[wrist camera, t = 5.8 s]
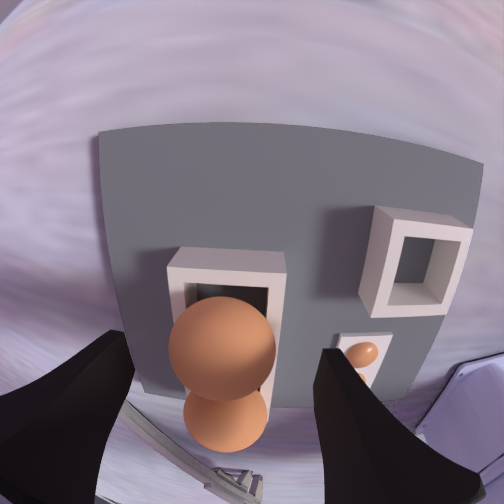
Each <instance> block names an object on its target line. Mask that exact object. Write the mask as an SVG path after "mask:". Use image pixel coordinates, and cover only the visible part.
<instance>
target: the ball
mask: <svg viewBox="0 0 504 504" xmlns="http://www.w3.org/2000/svg"><path fill="white" fill-rule="evenodd" d="M168 351H169V359H170V362H171V366H172V368H173V370H174V372H175V374H176V376H177V377H178V379H179V380H180V381H181V382H182V384H183V385H184V386H185V387H186V388H188V389H189V390H190V391H192V392H193V393H195V394H196V395H198V396H200V397H203V398H206V399H209V400H214V401H232V400H237V399H240V398H243V397H246V396H248V395H249V394H251V393H253V392H254V391H256V390H257V389H258V388H259V387H260V386H261V385H262V384H263V383H264V382H265V381H266V379H267V378H268V376H269V375H270V373H271V371H272V368H273V365H274V362H275V357H276V344H275V337H274V334H273V331H272V329H271V327H270V325H269V323H268V322H267V320H266V319H265V317H264V316H263V315H262V314H261V313H260V312H259V311H258V310H257V309H256V308H254V307H253V306H252V305H250V304H248V303H246V302H244V301H242V300H239V299H236V298H232V297H221V296H219V297H211V298H207V299H204V300H201V301H198V302H196V303H194V304H193V305H191V306H190V307H188V308H187V309H186V310H185V311H184V312H183V313H182V314H181V315H180V316H179V317H178V319H177V320H176V322H175V324H174V326H173V328H172V330H171V333H170V337H169V345H168Z"/></svg>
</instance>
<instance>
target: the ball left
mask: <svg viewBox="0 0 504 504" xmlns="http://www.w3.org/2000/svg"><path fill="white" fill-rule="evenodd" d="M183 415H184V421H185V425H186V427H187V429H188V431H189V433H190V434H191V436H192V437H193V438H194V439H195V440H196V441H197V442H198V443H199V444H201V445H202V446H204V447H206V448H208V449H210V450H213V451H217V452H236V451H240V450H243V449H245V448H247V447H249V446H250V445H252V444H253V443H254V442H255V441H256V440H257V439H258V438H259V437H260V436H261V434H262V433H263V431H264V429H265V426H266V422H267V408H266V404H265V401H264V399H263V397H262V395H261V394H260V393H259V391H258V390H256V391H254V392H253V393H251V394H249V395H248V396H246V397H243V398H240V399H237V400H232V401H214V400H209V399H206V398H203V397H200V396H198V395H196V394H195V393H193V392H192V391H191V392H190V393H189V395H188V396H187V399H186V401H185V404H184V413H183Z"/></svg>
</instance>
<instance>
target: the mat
mask: <svg viewBox="0 0 504 504" xmlns="http://www.w3.org/2000/svg"><path fill="white" fill-rule="evenodd" d="M483 166H484V164H483V163H480V162H477V161H474V160H471V159H468V158H464V157H461V156H458V155H455V154H451V153H448V152H444V151H441V150H437V149H433V148H429V147H425V146H421V145H417V144H413V143H409V142H404V141H400V140H395V139H390V138H385V137H380V136H374V135H369V134H363V133H356V132H350V131H343V130H335V129H327V128H319V127H309V126H298V125H285V124H269V123H238V122H212V123H182V124H165V125H153V126H142V127H133V128H124V129H116V130H109V131H102V132H99V168H100V184H101V197H102V207H103V216H104V224H105V232H106V239H107V246H108V252H109V258H110V264H111V269H112V275H113V280H114V285H115V290H116V294H117V299H118V303H119V307H120V312H121V316H122V320H123V324H124V327H125V331H126V335H127V338H128V342H129V345H130V349H131V352H132V356H133V359H134V362H135V365H136V368H137V371H138V374H139V377H140V380H141V383H142V386H143V389H144V392H145V393H149V394H154V395H160V396H165V397H171V398H177V399H183V400H186V399H187V396H186V391H185V386H184V385H183V384H182V382H181V381H180V380H179V379H178V377H177V376H176V374H175V372H174V370H173V368H172V366H171V362H170V359H169V351H168V345H169V337H170V333H171V330H172V328H173V326H174V322H173V315H172V308H171V301H170V293H169V284H168V275H167V265H168V264H169V263H170V261H171V260H172V258H173V257H174V256H175V254H176V253H177V251H178V250H179V249H180V247H200V248H220V249H239V250H259V251H279V252H284V257H285V264H286V272H287V276H286V286H285V295H284V305H283V313H282V322H281V330H280V339H279V347H278V354H277V362H276V370H275V377H274V384H273V391H272V398H271V405H270V407H282V408H301V407H314V400H313V383H314V379H315V376H316V372H317V369H318V365H319V361H320V357H321V353H322V349H323V348H336V346H337V343H338V339H339V335H340V333H370V332H392V334H393V337H392V339H391V342H390V344H389V347H388V349H387V352H386V354H385V356H384V359H383V361H382V363H381V366H380V368H379V370H378V372H377V375H376V377H375V379H374V381H373V383H372V385H371V387H370V390H371V391H372V392H373V393H374V395H375V396H376V397H377V398H378V399H379V400H380V402H384V401H391V400H398V399H403V398H404V396H405V394H406V393H407V391H408V389H409V388H410V386H411V384H412V382H413V381H414V379H415V377H416V375H417V374H418V372H419V370H420V368H421V366H422V364H423V362H424V360H425V358H426V356H427V354H428V352H429V350H430V348H431V346H432V344H433V342H434V340H435V338H436V335H437V333H438V331H439V329H440V326H441V324H442V322H443V319H444V317H445V315H433V316H415V317H387V318H370V316H369V314H368V312H367V310H366V308H365V306H364V304H363V302H362V300H361V298H360V296H359V294H358V291H359V286H360V282H361V278H362V273H363V268H364V264H365V259H366V254H367V249H368V243H369V238H370V232H371V226H372V220H373V214H374V207H375V205H376V206H384V207H393V208H401V209H409V210H416V211H423V212H430V213H437V214H444V215H450V216H452V217H453V218H455V219H457V220H459V221H460V222H462V223H464V224H466V225H467V226H469V227H471V228H472V229H473V226H474V221H475V216H476V211H477V206H478V201H479V195H480V189H481V182H482V175H483ZM434 242H435V239H430V238H419V237H408V236H405V237H404V242H403V246H402V251H401V255H400V259H399V263H398V267H397V271H396V275H395V279H394V283H423V282H424V279H425V275H426V272H427V268H428V265H429V261H430V258H431V254H432V250H433V246H434ZM196 286H197V301H201V300H204V299H207V298H211V297H219V296H221V297H232V298H236V299H239V300H242V301H244V302H246V303H248V304H250V305H252V306H253V307H254V308H256V309H257V310H258V311H259V312H260V313H261V314H262V315H263V316H264V317H265V308H266V294H267V287H251V286H234V285H218V284H203V283H196ZM257 390H259V388H258V389H257Z"/></svg>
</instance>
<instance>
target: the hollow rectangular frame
mask: <svg viewBox="0 0 504 504" xmlns="http://www.w3.org/2000/svg"><path fill="white" fill-rule="evenodd" d="M167 275H168V284H169V293H170V301H171V308H172V315H173V322H174V324H175V322H176V320H177V319H178V317H179V316H180V315H181V314H182V313H183V312H184V311H185V310H186V309H187V308H188V307H190V306H191V305H193V304H194V303H196V302H198V301H197V286H196V283H203V284H218V285H234V286H251V287H267V294H266V308H265V319H266V320H267V322H268V323H269V325H270V327H271V329H272V331H273V334H274V337H275V344H276V357H275V362H274V365H273V368H272V371H271V373H270V375H269V376H268V378H267V379H266V381H265V382H264V383H263V384H262V385H261V386H260V387H259V390H258V391H259V393H260V394H261V395H262V397H263V399H264V401H265V404H266V408H267V422H268V418H269V411H270V405H271V398H272V391H273V384H274V377H275V370H276V362H277V354H278V347H279V339H280V330H281V322H282V313H283V305H284V295H285V286H286V276H287V272H286V264H285V257H284V252H279V251H259V250H239V249H220V248H200V247H180V249H179V250H178V251H177V253H176V254H175V256H174V257H173V258H172V260H171V261H170V263H169V264H168V265H167ZM185 391H186V396H188V395H189V393H190V392H191V391H190V390H189V389H188V388H186V387H185Z"/></svg>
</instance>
